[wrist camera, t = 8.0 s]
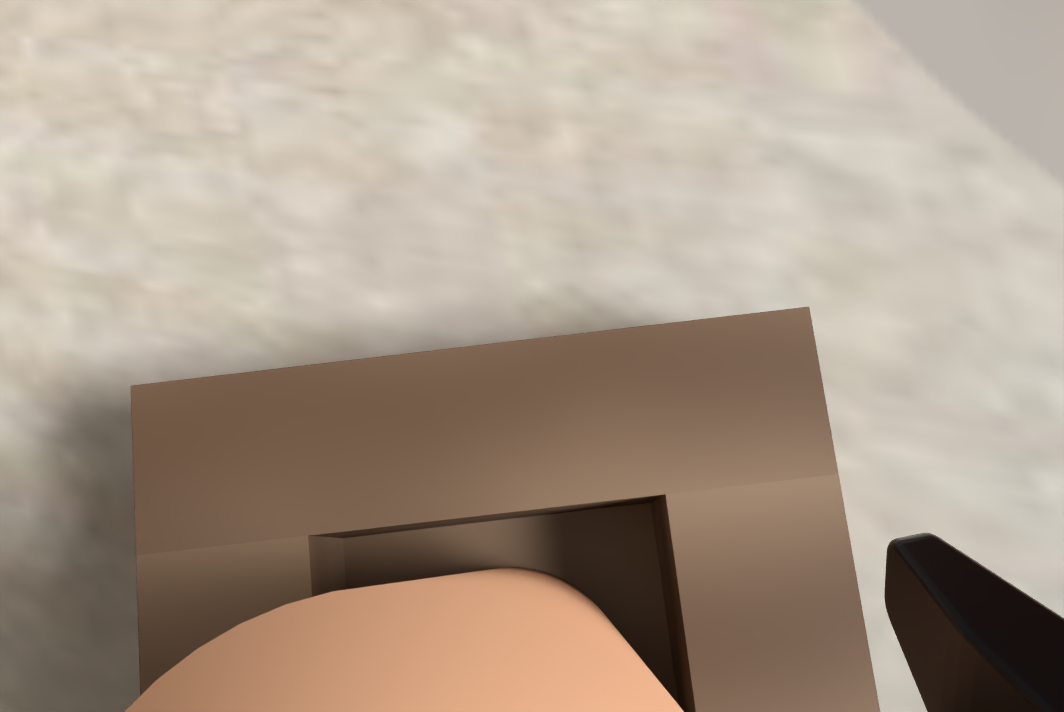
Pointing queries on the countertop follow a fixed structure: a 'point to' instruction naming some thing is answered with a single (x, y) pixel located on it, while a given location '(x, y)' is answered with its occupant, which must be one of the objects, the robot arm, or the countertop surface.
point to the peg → (420, 653)
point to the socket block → (525, 497)
